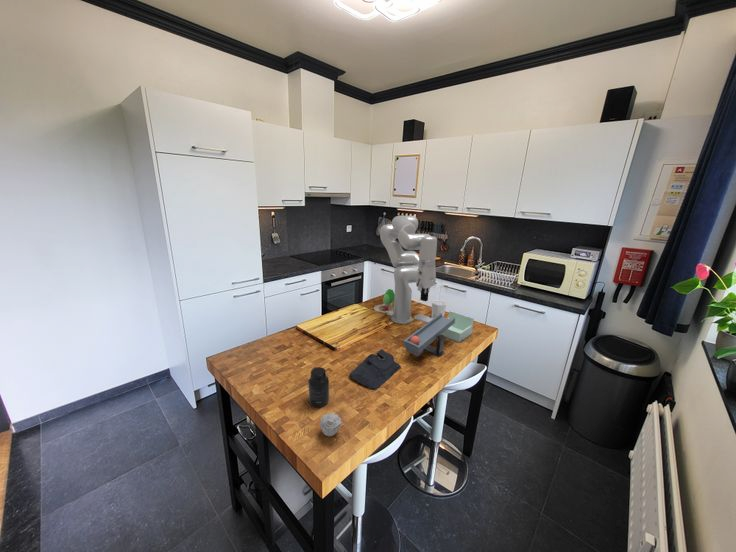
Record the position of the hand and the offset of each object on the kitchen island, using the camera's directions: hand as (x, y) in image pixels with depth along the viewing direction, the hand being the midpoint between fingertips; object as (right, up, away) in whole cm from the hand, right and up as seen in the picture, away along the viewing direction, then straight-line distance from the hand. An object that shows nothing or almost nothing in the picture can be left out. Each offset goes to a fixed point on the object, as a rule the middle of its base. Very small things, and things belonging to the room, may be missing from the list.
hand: (424, 300), depth 138 cm
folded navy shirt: (-24, -28, -21) cm, 42 cm away
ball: (-7, -16, -15) cm, 23 cm away
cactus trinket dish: (-16, -9, +43) cm, 47 cm away
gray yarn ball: (-38, -36, -52) cm, 74 cm away
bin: (+18, -18, +12) cm, 28 cm away
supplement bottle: (-44, -32, -39) cm, 66 cm away
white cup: (+14, -13, +30) cm, 35 cm away
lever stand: (+2, -23, -4) cm, 23 cm away
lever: (-1, -16, -3) cm, 16 cm away
